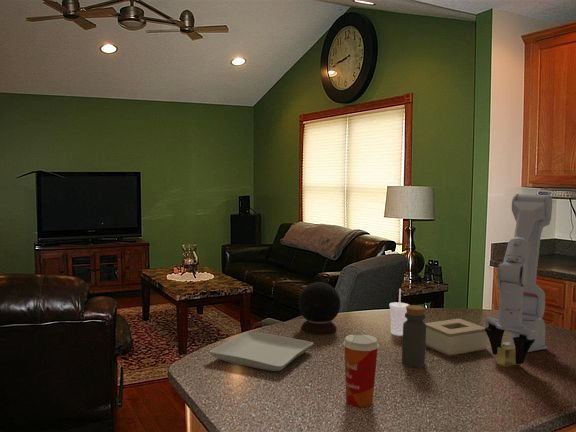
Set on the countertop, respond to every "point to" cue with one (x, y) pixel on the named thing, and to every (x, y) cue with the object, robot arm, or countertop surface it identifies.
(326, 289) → the black ball on stand
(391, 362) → the countertop surface
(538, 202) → the robot arm
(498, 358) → the block
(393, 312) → the beverage cup
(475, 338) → the cream box with slot
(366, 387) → the paper cup
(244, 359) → the salad plate
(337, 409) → the countertop surface
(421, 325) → the bottle
